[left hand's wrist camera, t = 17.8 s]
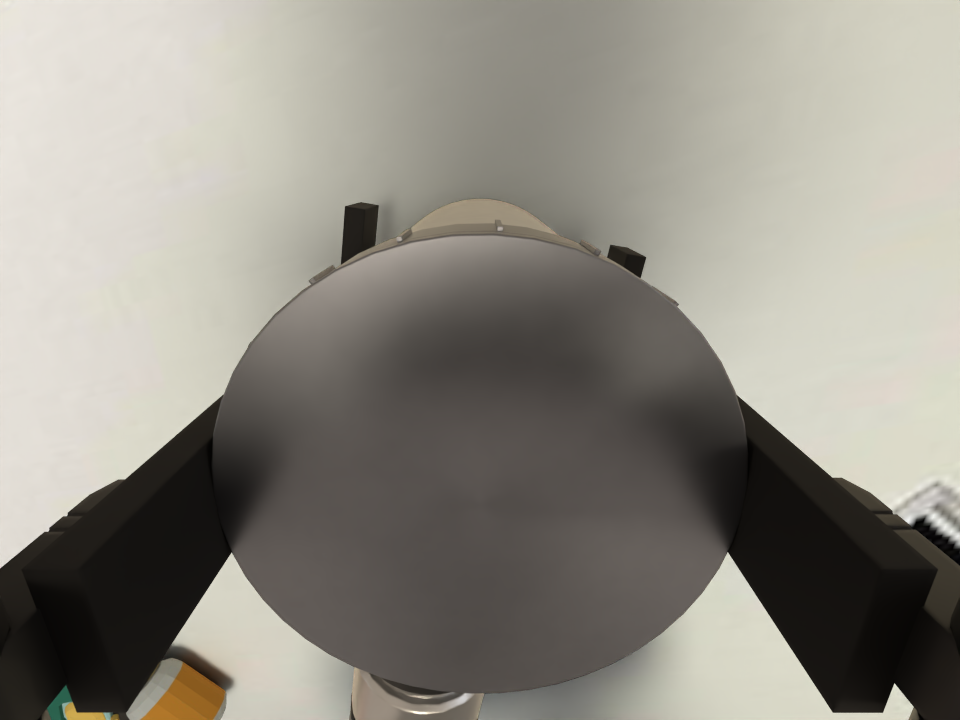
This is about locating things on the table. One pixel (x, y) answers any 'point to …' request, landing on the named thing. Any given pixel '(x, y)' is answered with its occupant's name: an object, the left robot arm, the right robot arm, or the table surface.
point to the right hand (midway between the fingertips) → (496, 228)
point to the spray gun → (159, 698)
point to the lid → (479, 460)
